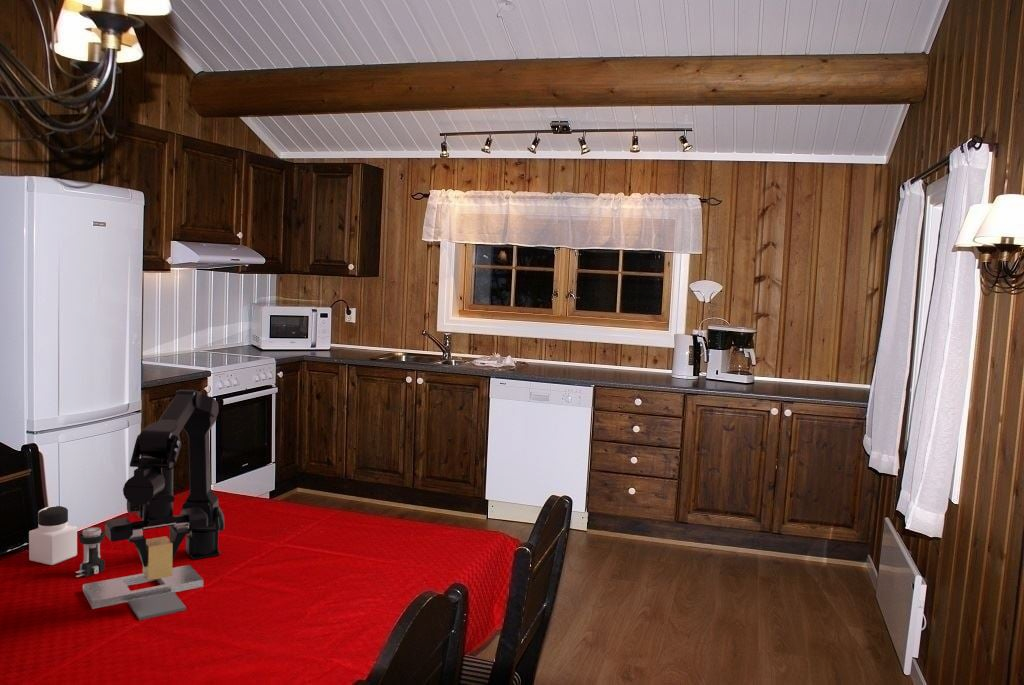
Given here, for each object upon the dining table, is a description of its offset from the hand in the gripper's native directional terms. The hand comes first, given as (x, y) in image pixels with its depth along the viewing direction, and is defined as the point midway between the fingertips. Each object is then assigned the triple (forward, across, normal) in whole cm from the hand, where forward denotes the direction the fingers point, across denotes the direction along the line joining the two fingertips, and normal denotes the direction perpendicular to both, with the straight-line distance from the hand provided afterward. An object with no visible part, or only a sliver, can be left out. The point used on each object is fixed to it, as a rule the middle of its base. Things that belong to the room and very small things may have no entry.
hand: (157, 563), depth 167 cm
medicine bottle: (+10, +13, -39) cm, 42 cm away
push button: (+9, +8, -25) cm, 28 cm away
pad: (+9, 0, 0) cm, 9 cm away
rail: (+9, 0, -10) cm, 14 cm away
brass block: (+2, 0, 0) cm, 2 cm away
